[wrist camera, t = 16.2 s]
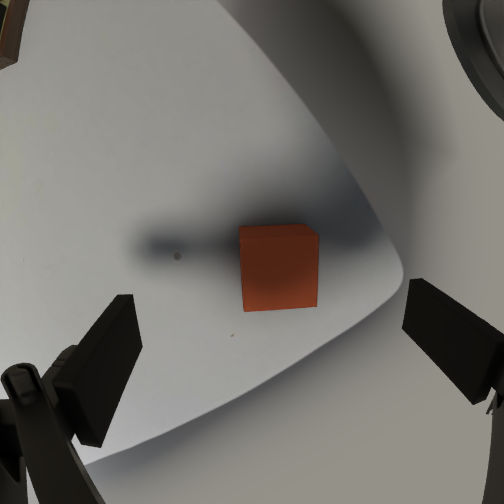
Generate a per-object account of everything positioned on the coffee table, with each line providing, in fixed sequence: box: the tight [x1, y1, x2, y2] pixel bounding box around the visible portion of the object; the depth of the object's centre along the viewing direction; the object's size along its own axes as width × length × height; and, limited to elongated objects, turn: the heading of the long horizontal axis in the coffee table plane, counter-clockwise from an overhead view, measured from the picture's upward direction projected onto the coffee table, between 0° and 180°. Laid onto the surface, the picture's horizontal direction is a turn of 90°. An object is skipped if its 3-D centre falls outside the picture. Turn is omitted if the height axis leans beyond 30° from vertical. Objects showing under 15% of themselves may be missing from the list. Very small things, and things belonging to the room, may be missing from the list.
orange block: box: [239, 224, 319, 312], centre depth 25 cm, size 6×6×4 cm
